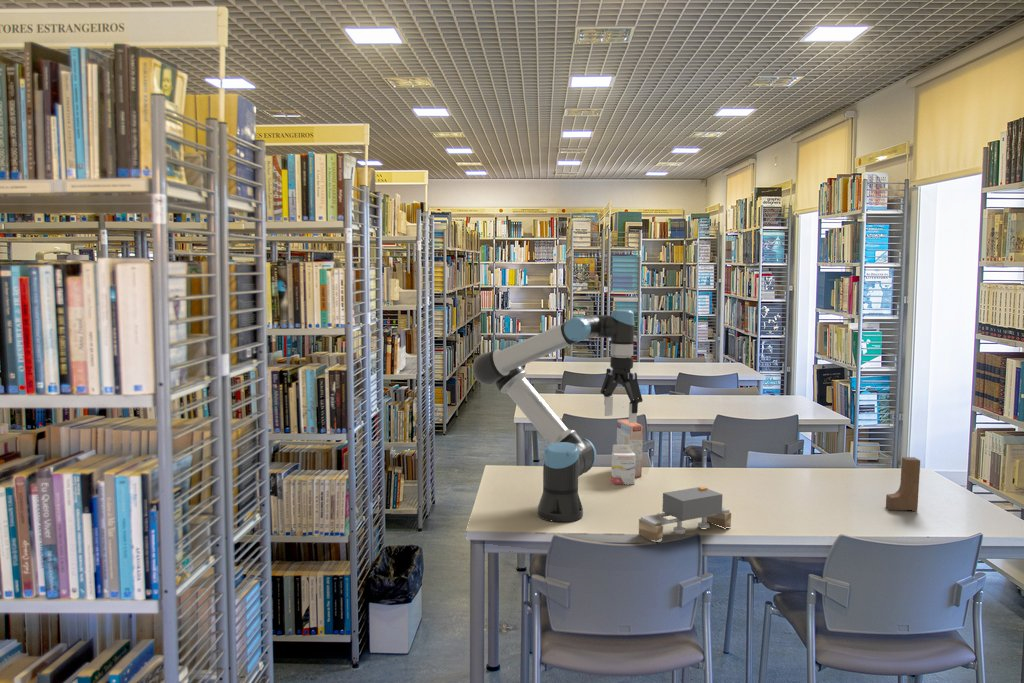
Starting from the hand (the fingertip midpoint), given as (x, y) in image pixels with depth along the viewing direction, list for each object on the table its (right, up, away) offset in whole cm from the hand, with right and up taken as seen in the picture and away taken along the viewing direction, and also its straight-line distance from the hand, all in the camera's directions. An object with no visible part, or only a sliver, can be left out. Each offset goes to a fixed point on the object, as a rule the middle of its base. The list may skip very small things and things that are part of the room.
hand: (620, 419), depth 252 cm
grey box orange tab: (+20, -33, -15) cm, 42 cm away
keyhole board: (+18, -34, -17) cm, 42 cm away
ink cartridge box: (+6, -29, +37) cm, 47 cm away
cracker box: (+11, -27, +52) cm, 60 cm away
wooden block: (+99, -32, +8) cm, 104 cm away
